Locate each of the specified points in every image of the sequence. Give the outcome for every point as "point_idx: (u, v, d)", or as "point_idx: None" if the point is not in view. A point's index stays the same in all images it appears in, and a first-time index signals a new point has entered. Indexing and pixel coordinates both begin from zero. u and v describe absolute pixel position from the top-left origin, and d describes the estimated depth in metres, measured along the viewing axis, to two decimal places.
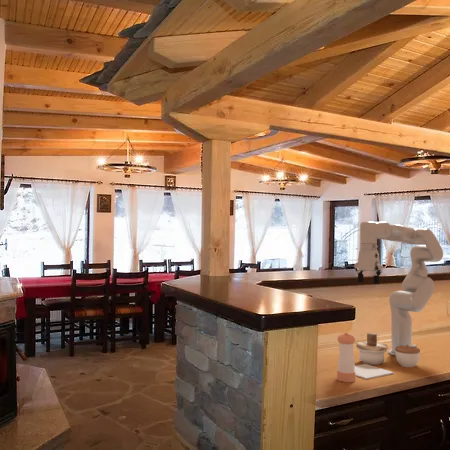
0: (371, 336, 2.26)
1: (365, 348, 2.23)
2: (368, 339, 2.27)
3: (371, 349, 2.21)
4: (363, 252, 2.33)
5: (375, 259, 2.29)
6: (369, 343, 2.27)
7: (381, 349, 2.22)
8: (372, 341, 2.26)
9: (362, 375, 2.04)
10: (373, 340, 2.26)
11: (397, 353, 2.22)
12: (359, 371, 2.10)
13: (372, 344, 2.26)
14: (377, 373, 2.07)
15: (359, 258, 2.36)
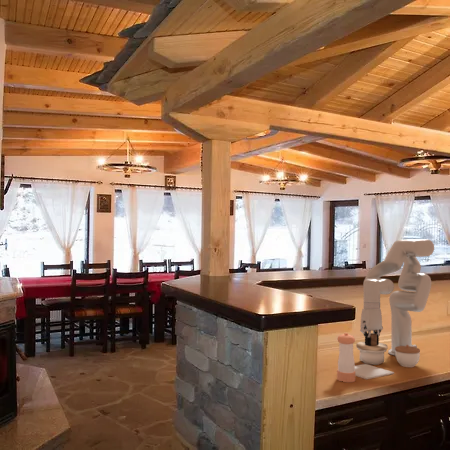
0: (371, 336, 2.26)
1: (365, 348, 2.23)
2: None
3: (371, 349, 2.21)
4: (374, 312, 2.26)
5: None
6: None
7: (381, 349, 2.21)
8: (372, 341, 2.26)
9: (362, 375, 2.04)
10: (373, 340, 2.26)
11: (397, 353, 2.22)
12: (359, 371, 2.10)
13: (372, 344, 2.26)
14: (377, 373, 2.07)
15: (370, 318, 2.25)
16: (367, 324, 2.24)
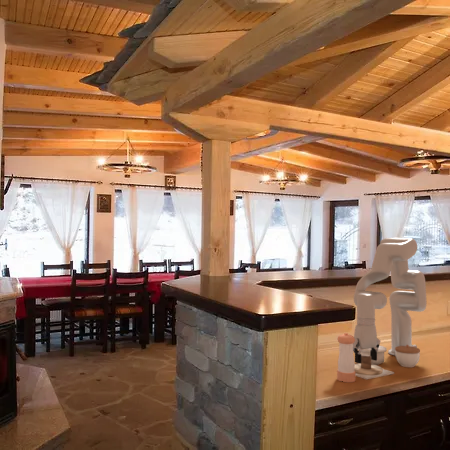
0: (365, 358, 2.10)
1: (358, 372, 2.06)
2: (362, 362, 2.11)
3: (365, 373, 2.05)
4: (369, 328, 2.09)
5: None
6: (363, 366, 2.10)
7: (376, 373, 2.05)
8: (366, 364, 2.10)
9: (362, 375, 2.04)
10: (367, 363, 2.10)
11: (397, 353, 2.22)
12: None
13: (366, 367, 2.10)
14: None
15: (364, 336, 2.08)
16: (361, 342, 2.08)
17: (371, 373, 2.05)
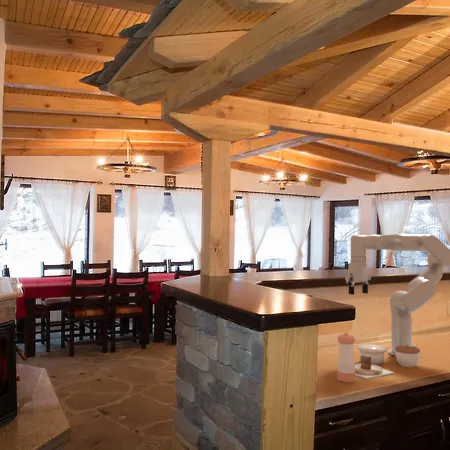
0: (365, 358, 2.10)
1: (359, 372, 2.06)
2: (362, 362, 2.11)
3: (365, 373, 2.05)
4: (361, 265, 2.42)
5: None
6: (363, 366, 2.10)
7: (376, 373, 2.05)
8: (366, 364, 2.10)
9: (362, 375, 2.04)
10: (367, 363, 2.10)
11: (397, 353, 2.22)
12: None
13: (366, 367, 2.10)
14: None
15: (356, 271, 2.40)
16: (354, 276, 2.40)
17: (371, 373, 2.05)
